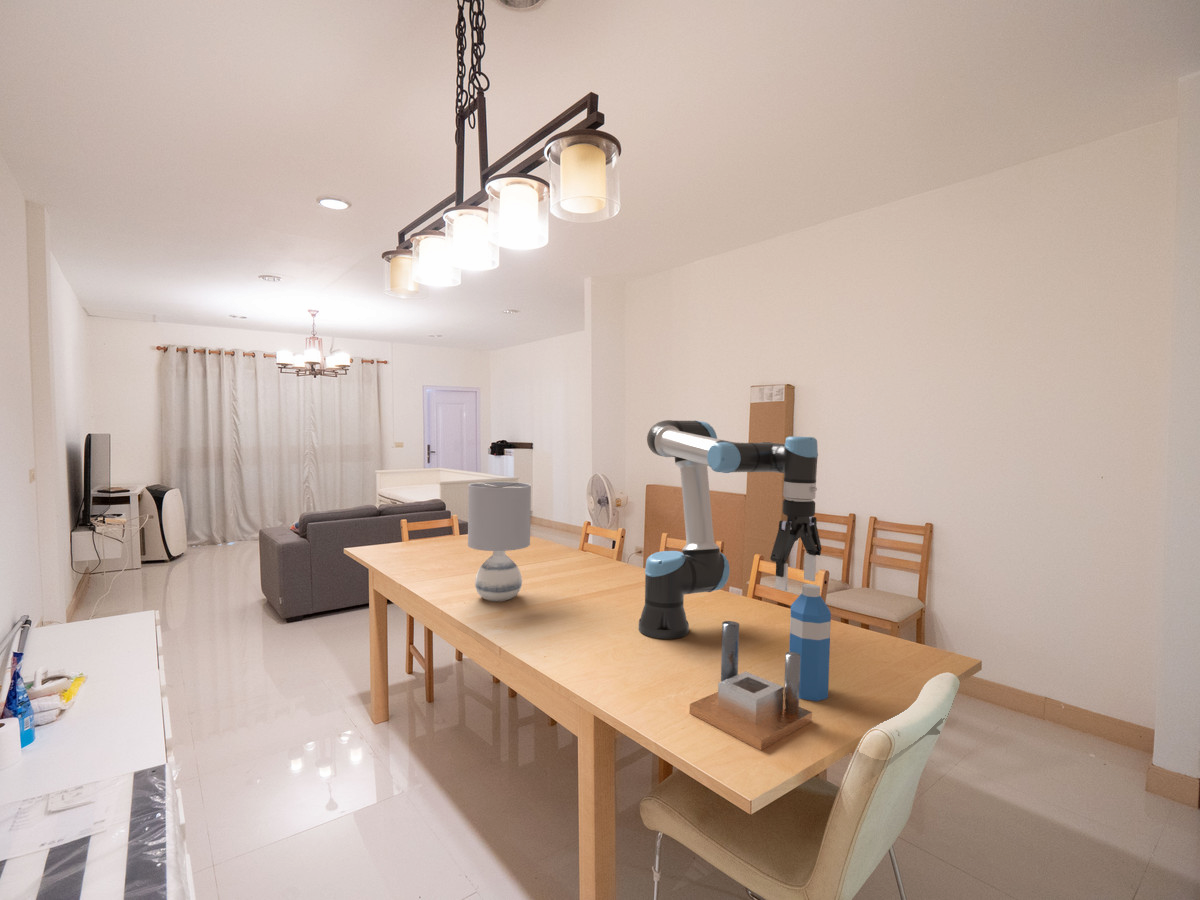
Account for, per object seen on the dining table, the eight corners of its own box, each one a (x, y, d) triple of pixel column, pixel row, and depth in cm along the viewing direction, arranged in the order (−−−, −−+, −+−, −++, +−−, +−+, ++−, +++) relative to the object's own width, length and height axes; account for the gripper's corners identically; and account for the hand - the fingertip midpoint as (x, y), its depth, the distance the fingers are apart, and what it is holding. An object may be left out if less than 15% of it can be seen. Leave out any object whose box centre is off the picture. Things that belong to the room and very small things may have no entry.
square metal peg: (717, 679, 139) (719, 623, 139) (727, 675, 142) (729, 619, 141) (730, 685, 136) (732, 627, 136) (741, 681, 139) (742, 624, 138)
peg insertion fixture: (689, 713, 123) (691, 648, 122) (741, 690, 134) (742, 631, 133) (760, 750, 109) (763, 678, 108) (811, 721, 120) (813, 655, 120)
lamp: (524, 608, 192) (526, 488, 190) (460, 606, 192) (461, 487, 190) (532, 590, 213) (534, 482, 212) (475, 588, 213) (476, 481, 212)
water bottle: (780, 683, 138) (783, 581, 137) (817, 682, 139) (821, 580, 138) (796, 701, 129) (800, 592, 128) (836, 700, 130) (840, 591, 129)
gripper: (786, 505, 129) (782, 597, 130) (837, 497, 146) (834, 579, 147) (757, 501, 134) (754, 590, 135) (810, 494, 151) (806, 573, 152)
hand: (795, 584), depth 141 cm, fingers open, 13 cm apart
